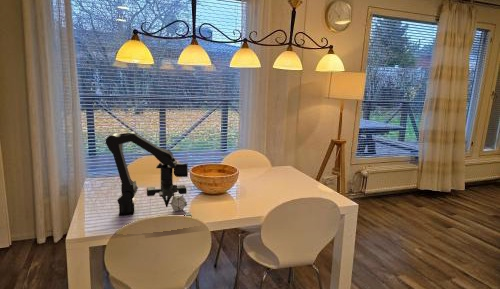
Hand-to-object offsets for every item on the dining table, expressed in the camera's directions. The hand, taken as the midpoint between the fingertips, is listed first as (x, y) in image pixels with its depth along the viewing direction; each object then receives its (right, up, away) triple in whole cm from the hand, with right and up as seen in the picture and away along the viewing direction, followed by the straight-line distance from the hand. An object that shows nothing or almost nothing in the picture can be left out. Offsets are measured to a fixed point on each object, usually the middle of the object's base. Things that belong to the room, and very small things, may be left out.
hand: (166, 206), depth 166 cm
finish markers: (+8, -2, +5) cm, 10 cm away
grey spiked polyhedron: (+5, -3, +2) cm, 6 cm away
